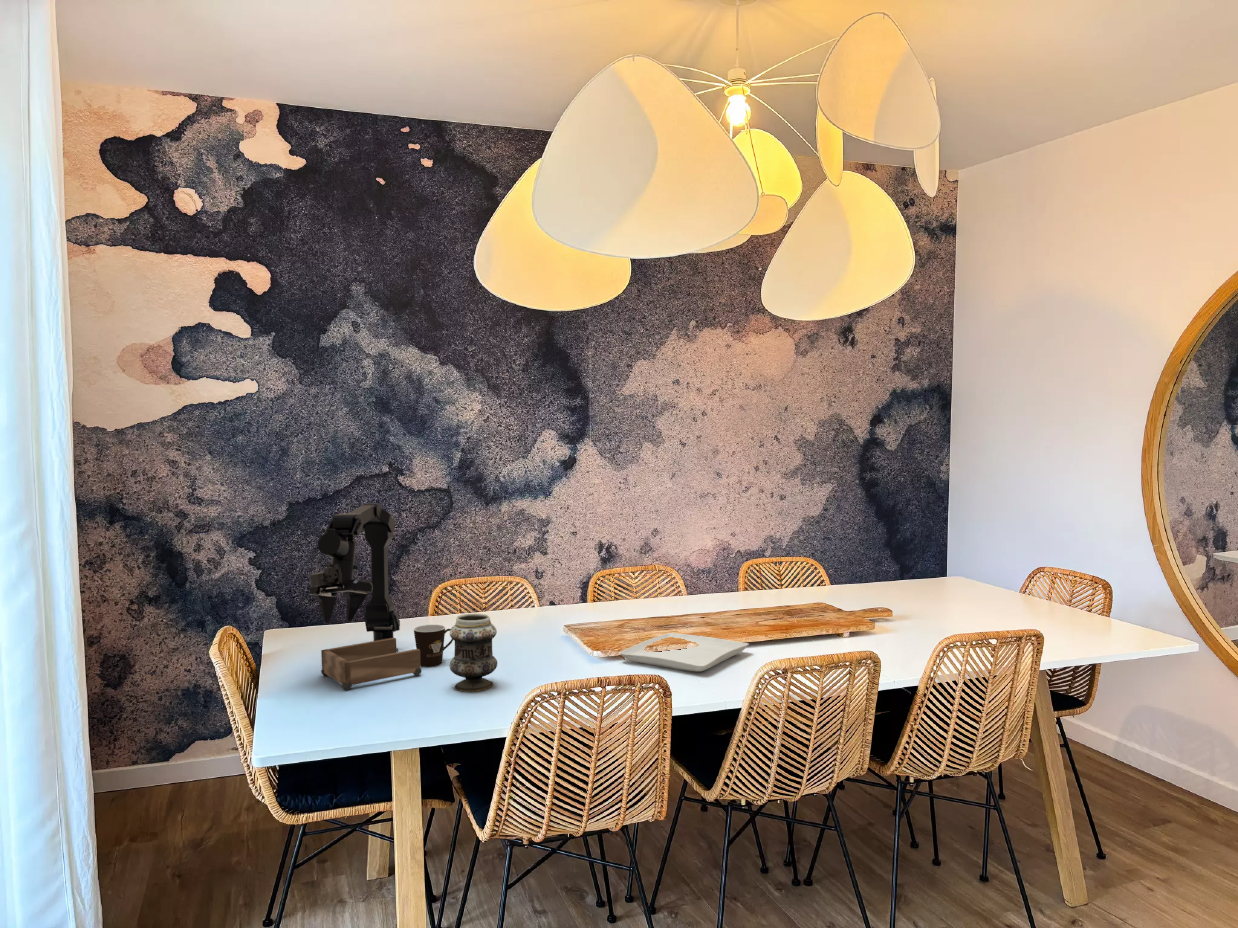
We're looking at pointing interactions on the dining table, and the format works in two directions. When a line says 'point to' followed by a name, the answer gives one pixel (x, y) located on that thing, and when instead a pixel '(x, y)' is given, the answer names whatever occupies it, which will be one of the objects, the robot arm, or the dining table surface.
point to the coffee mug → (430, 644)
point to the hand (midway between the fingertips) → (337, 622)
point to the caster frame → (369, 662)
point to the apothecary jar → (473, 651)
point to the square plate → (686, 653)
